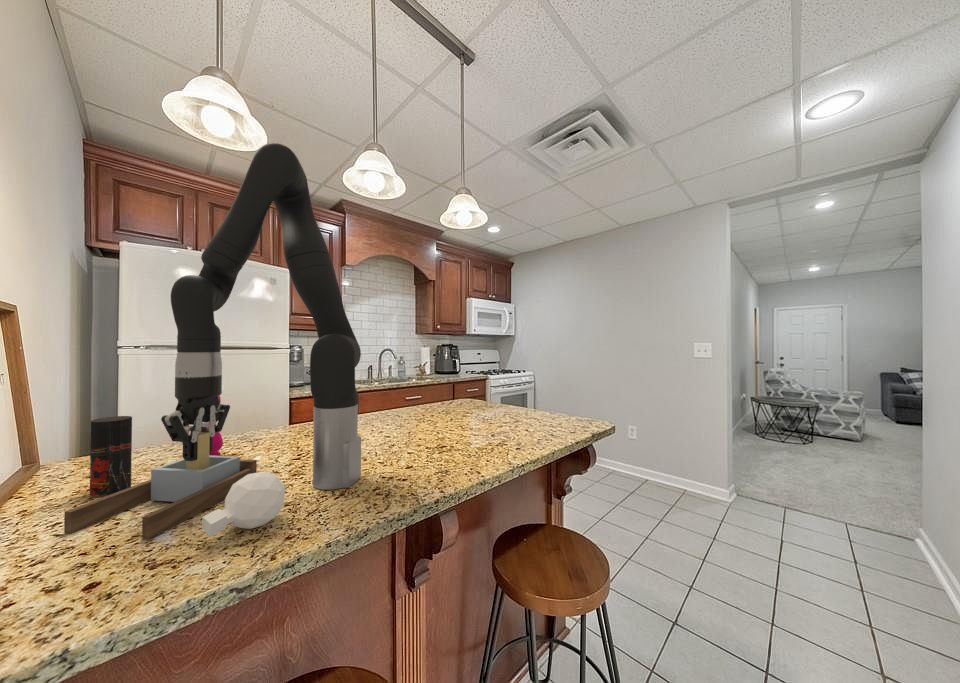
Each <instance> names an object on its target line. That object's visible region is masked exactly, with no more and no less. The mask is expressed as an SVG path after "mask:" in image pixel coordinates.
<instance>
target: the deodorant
mask: <svg viewBox="0 0 960 683" xmlns="http://www.w3.org/2000/svg"><path fill="white" fill-rule="evenodd" d="M132 438H133V416H131V415H119V416H118V415H117V416H108V417H100V418H95V419H92V420H90V451H89V452H90V453H89V454H90V455H89V456H90V457H89V497H91V498H99V497H100V498H103V497H105V496H108V495H111V494H114V493H116V492H119V491H122V490H124V489H127V488H130V487H132V456H133V454H132V453H133V452H132V450H133V446H132V445H133V444H132V443H133V440H132Z"/></svg>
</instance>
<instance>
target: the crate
mask: <svg viewBox="0 0 960 683" xmlns="http://www.w3.org/2000/svg"><path fill="white" fill-rule="evenodd" d="M189 436H190V433H189ZM196 442H197V459H196V460H194V461H185V460H184V459H183V458H181V459H177V460H175V461H172V462H168V463H166V464H163V465H161V466H157V467H154V468H152V469H151V470H150V480H151V500H150V501H156V502H170V503H171V502H172V503H174V502H176V501H178V500H180V499H182V498H184V497H186V496H189V495H191V494H193V493H195V492H197V491H199V490H202V489H204V488H206V487H208V486H210V485H212V484H215V483H217V482H219V481H221V480H223V479H225V478H228V477H230V476H232V475H234V474H236V473H238V472H240V459H241V457H240V456H233V455H231V456H230V455H229V456H227V455H221V456H211V455H209V446H210V432H198V436H197V441H196Z"/></svg>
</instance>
